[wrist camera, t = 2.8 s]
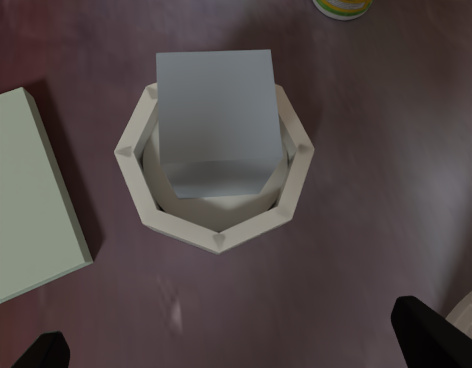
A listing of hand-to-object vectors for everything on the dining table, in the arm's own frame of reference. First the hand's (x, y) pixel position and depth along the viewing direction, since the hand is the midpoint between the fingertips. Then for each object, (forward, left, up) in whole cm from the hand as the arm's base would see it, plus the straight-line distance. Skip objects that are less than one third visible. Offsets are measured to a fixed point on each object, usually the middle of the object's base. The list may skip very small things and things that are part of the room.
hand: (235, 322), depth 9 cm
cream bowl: (+8, -3, -14) cm, 16 cm away
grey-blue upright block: (+8, -3, -11) cm, 14 cm away
